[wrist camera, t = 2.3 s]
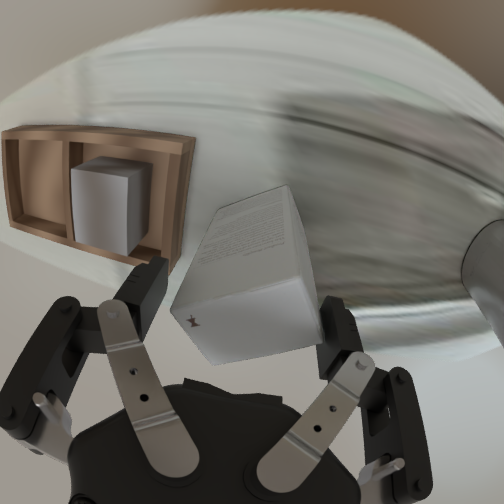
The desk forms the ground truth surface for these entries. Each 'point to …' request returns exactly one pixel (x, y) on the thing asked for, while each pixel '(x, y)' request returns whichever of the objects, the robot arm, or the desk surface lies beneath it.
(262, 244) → the skincare box
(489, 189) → the desk surface
